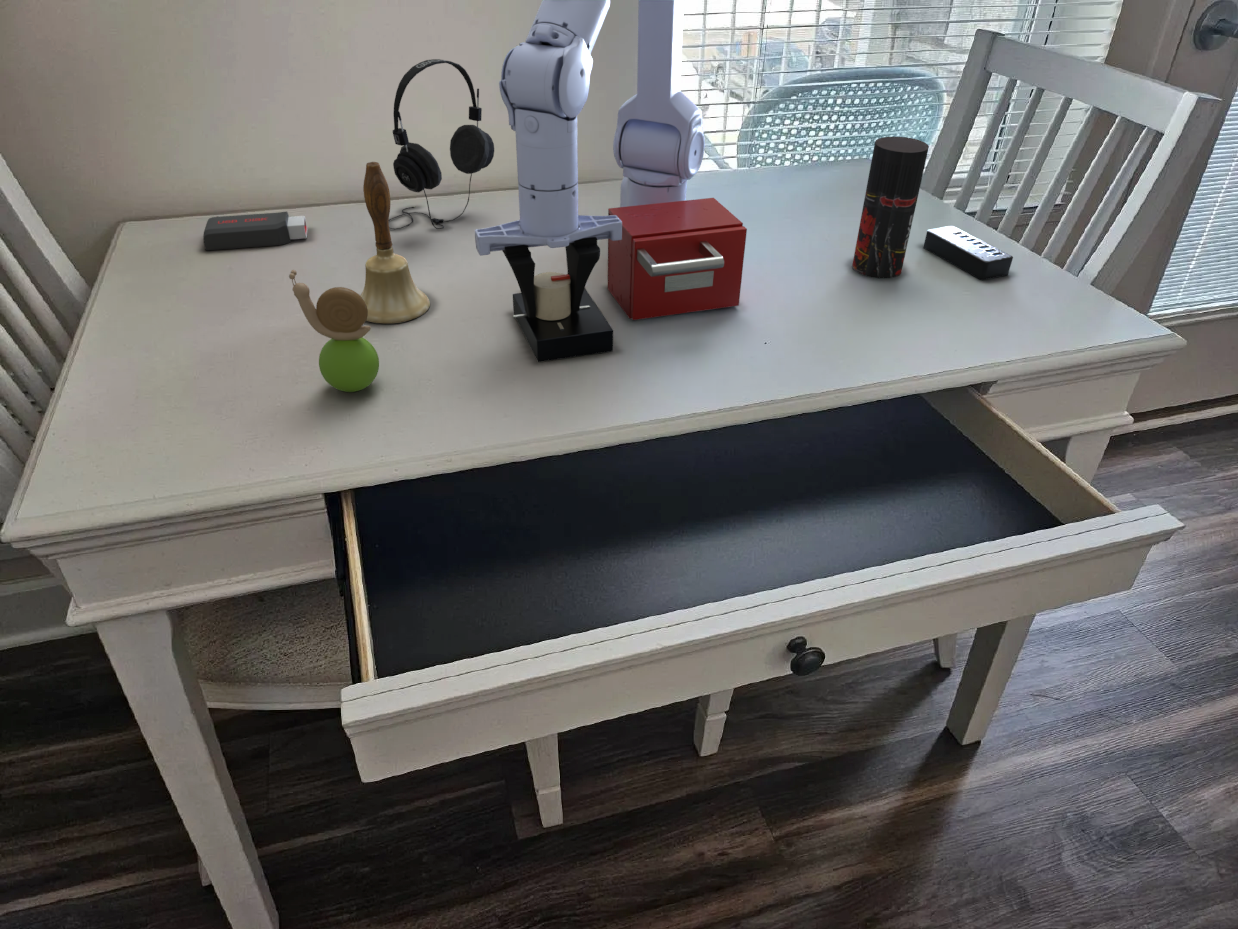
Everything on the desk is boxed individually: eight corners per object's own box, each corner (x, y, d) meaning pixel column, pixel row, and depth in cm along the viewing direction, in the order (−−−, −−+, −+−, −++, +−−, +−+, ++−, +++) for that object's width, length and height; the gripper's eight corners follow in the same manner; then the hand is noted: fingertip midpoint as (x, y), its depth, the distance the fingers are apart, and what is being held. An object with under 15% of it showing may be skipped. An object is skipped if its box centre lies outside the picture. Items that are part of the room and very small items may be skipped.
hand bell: (443, 297, 101) (427, 155, 92) (406, 329, 95) (385, 181, 85) (379, 285, 103) (357, 145, 94) (338, 316, 97) (311, 170, 87)
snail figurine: (319, 374, 87) (295, 258, 80) (386, 372, 88) (367, 257, 81) (308, 404, 83) (281, 285, 76) (378, 402, 83) (358, 283, 76)
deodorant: (902, 280, 107) (931, 154, 98) (852, 275, 108) (875, 150, 99) (900, 260, 112) (927, 138, 103) (852, 256, 112) (874, 134, 103)
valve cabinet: (607, 288, 104) (608, 208, 98) (707, 275, 107) (713, 197, 101) (629, 319, 98) (631, 235, 92) (734, 304, 101) (743, 222, 95)
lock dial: (538, 322, 91) (536, 287, 89) (528, 305, 94) (527, 271, 92) (575, 317, 92) (575, 283, 90) (565, 301, 95) (564, 267, 93)
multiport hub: (981, 280, 107) (986, 262, 106) (921, 246, 115) (925, 229, 114) (1009, 274, 109) (1015, 256, 107) (948, 241, 117) (952, 224, 115)
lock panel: (503, 315, 98) (502, 293, 96) (583, 305, 100) (583, 283, 99) (527, 364, 90) (525, 340, 88) (613, 351, 92) (613, 328, 90)
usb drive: (210, 234, 114) (205, 213, 113) (307, 227, 117) (303, 207, 115) (205, 250, 110) (199, 229, 109) (306, 243, 113) (302, 222, 111)
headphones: (447, 193, 128) (432, 41, 116) (506, 211, 123) (497, 54, 111) (366, 224, 118) (341, 62, 106) (427, 245, 113) (407, 77, 101)
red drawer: (630, 317, 97) (632, 238, 92) (736, 302, 100) (744, 225, 95) (647, 341, 93) (651, 259, 88) (757, 325, 96) (767, 245, 91)
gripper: (480, 202, 80) (491, 337, 88) (633, 188, 84) (629, 318, 92) (466, 177, 85) (477, 306, 94) (610, 164, 89) (609, 289, 97)
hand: (551, 310), depth 93 cm, fingers closed on lock dial, 4 cm apart
